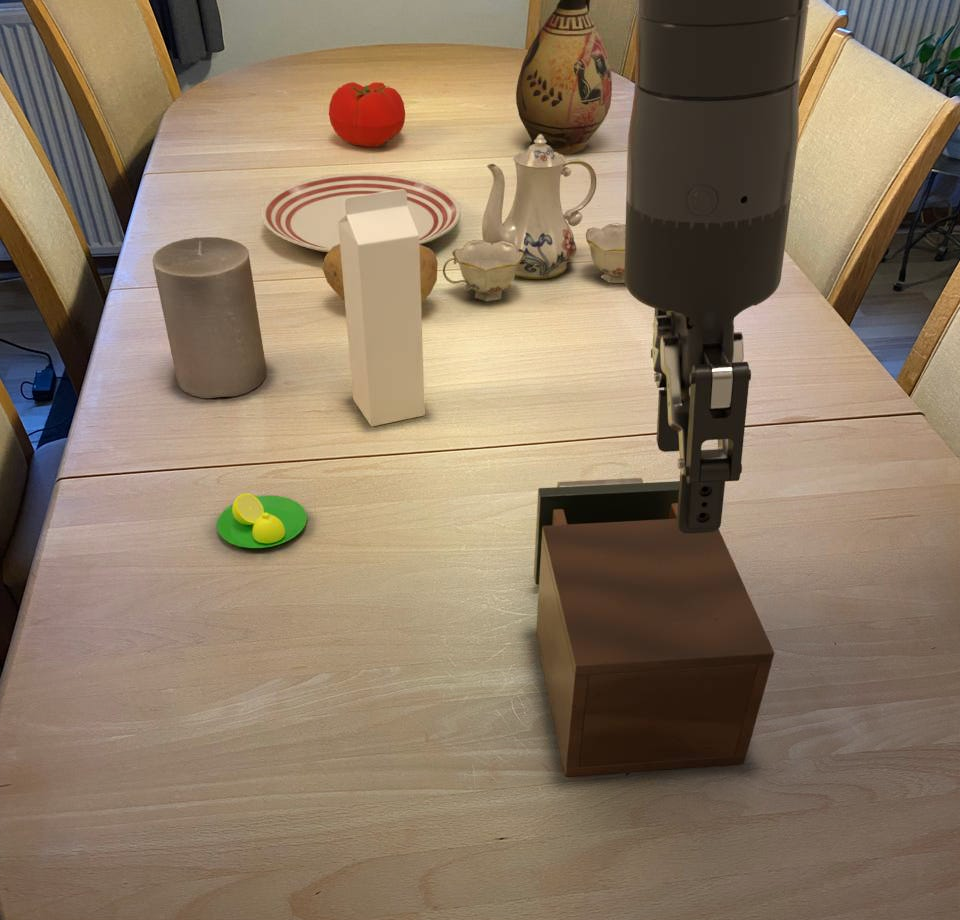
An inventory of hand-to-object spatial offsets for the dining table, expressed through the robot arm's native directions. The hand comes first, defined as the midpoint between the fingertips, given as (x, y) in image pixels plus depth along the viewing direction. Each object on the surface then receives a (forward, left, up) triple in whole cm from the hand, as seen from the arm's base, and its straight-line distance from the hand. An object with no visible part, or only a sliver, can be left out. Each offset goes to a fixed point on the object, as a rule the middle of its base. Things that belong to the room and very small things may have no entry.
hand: (686, 486), depth 58 cm
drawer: (-1, -14, -22) cm, 26 cm away
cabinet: (-1, -5, -23) cm, 23 cm away
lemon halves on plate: (+28, -29, -23) cm, 47 cm away
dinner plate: (+18, -98, -23) cm, 103 cm away
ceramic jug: (-16, -133, -23) cm, 136 cm away
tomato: (+16, -137, -23) cm, 140 cm away
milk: (+16, -49, -23) cm, 57 cm away
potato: (+16, -73, -23) cm, 79 cm away
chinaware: (-5, -81, -23) cm, 85 cm away
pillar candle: (+34, -57, -23) cm, 71 cm away
